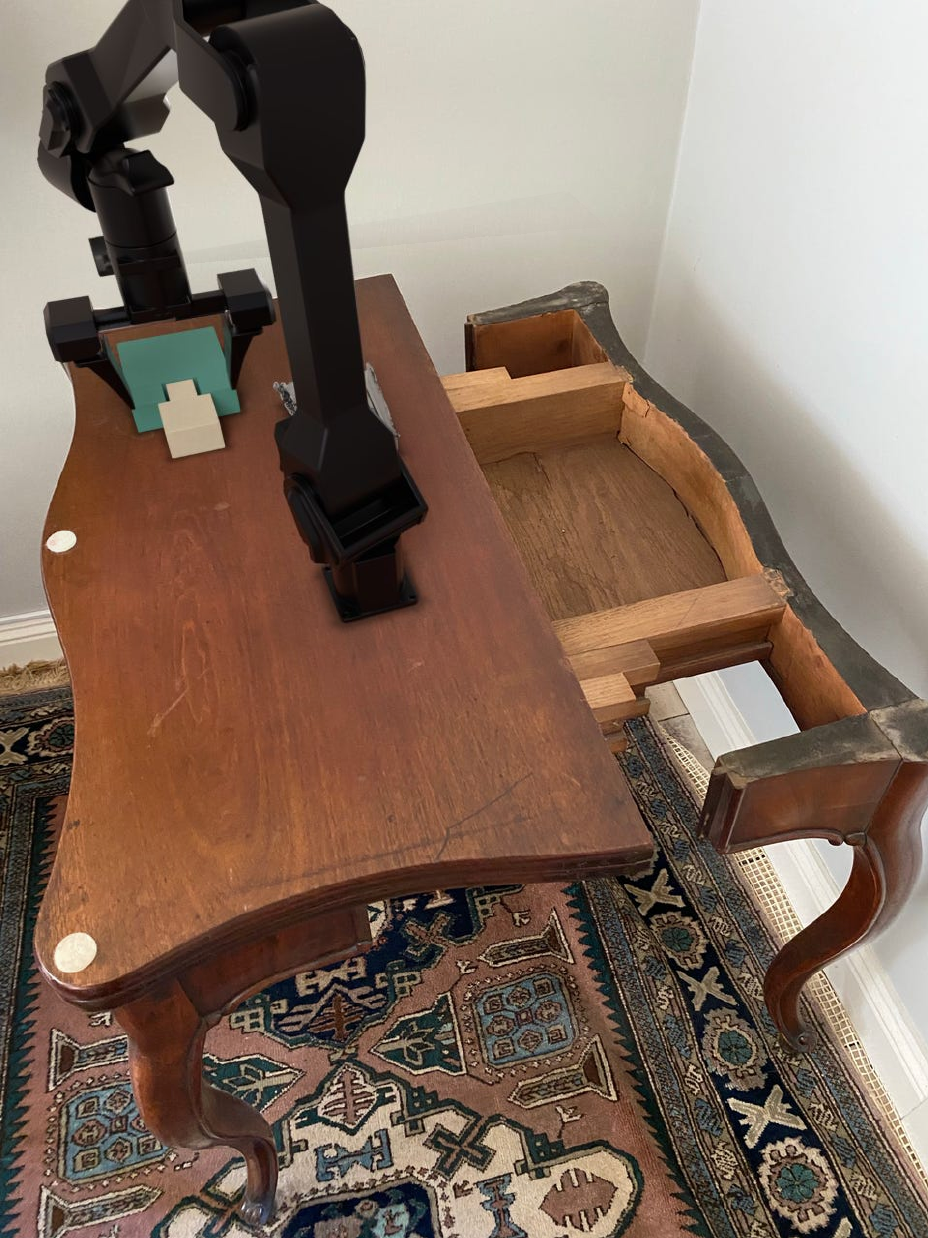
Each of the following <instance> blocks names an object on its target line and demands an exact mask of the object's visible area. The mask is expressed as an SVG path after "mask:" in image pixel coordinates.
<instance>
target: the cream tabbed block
mask: <svg viewBox="0 0 928 1238" xmlns="http://www.w3.org/2000/svg"><path fill="white" fill-rule="evenodd" d="M166 387H167V391H168V394H169V398H170V401H169V402H164V403H159V404H158V407H159V411H160V415H161V418H162V422H163V426H164V428H163V430H164V433H165V437H166V440H167V444H168V447H169V451H170V454H171V458H172V459H178V458H182V457H188V456H192V455H196V454H197V455H198V454H201V453H205V452H210V451H215V450H219V449H224V448H226V443H225V439H224V435H223V431H222V427H221V423H220V419H219V417H218V416H217V413H216V410H215V407H214V404H213V401H212V398H211V395H210V394H204V395H199V396H198V395H197V392H196V389H195V386H194V383H193V380H192V379H191V380H186V381H181V382H175V383H170V384H166Z"/></svg>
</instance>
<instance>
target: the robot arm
mask: <svg viewBox="0 0 928 1238" xmlns="http://www.w3.org/2000/svg"><path fill="white" fill-rule="evenodd" d="M366 66H367V65H366V60H365V55H364V51H363V48H362V46H361V44H360V41H359V39H358V38H357V35H356V34H355V33H354V32H353V30H352V29H351V28H350V27H349V26H348V25H347V24H346V23H345V22H343V20H342V19H341V17H339V16H338V14H336V12H335V11H334V10H333V9H332V8H330V7H329V6H327V5H325V4H324V3H321V2H320V1H318V0H126V2H125V4H124V5H123V6H122V7H121V9H120V11H119V12H118V13H117V14H116V16H115V17H114V19H113V20H112V21H111V23H110V24H109V26H108V27H107V28H106V30H105V32H104V33H103V34H102V36H101V37H100V38H99V40H98V41H97V43H96V44H95V45H94V46H91V47H90V48H87V49H84V50H81V51H78V52H76V53H72V54H69V55H66V56H63V57H61V58H59V59H57V60H55V61H54V62H51V63H49V64H48V65H47V67H46V70H45V74H44V82H45V84H44V86H43V87H42V110H41V120H40V125H39V131H38V137H39V141H38V147H37V157H36V161H37V165H38V168H39V170H40V172H41V174H42V176H43V178H45V179H46V181H47V182H48V183H49V184H50V185H51V186H52V187H54V189H55V188H56V190H58V191H60V192H61V193H62V194H64V195H65V196H67V197H68V198H70V200H72V201H74V202H75V203H77V204H78V205H80V206H81V207H82V208H84V209H85V210H87V211H90V212H92V213H95V214H96V215H97V219H98V222H99V225H100V229H101V233H102V235H98V236H97V235H96V236H92V237H87V240H88V243H89V244H88V245H89V247H90V251H91V255H92V258H93V261H94V265H95V269H96V271H97V275H98V276H99V277H100V278H103V277H104V278H105V277H111V276H114V277H115V281H116V284H117V289H118V291H119V295H120V297H121V300H122V304H123V305H120V306H113V307H108V308H101V309H96V310H94V306H93V304H92V300H91V298H90V295H81V296H75V297H70V298H63V299H57V300H52V301H47V302H46V304H45V306H44V308H43V309H42V315H43V321H44V330H45V335H46V338H47V342H48V345H49V349H50V350H51V353H52V356H53V358H54V361H55V362H58V363H60V364H65V363H71V362H72V363H73V365H74V367H75V368H76V369H84V368H86V369H89V370H90V371H91V372H92V373H94V374H95V375H96V376H97V377H99V378H100V379H101V380H102V381H103V382H104V383H106V384H107V385H108V386H109V387H110V388H111V389H112V390H113V391H114V393H115V394H116V395H117V396H118V397H119V398H120V399H121V400H122V401H123V402H124V404H126V406H127V407H128V408H129V409H130V410H131V411H132V410H135V409H136V407H135V403H134V400H133V396H132V393H131V390H130V387H129V385H128V383H127V381H126V379H125V376H124V374H123V371H122V367H121V365H120V364H119V361H118V359H117V357H116V355H115V353H114V351H113V348H112V346H111V343H110V341H109V339H108V338H109V337H108V336H107V334H114V333H118V332H125V331H130V330H136V329H142V328H146V327H153V326H159V325H163V324H169V323H175V322H181V321H186V320H192V319H198V318H203V317H208V316H214V315H220V320H221V327H222V335H223V347H224V357H225V360H226V370H227V375H228V379H229V384H230V387H231V390H236V391H237V387H238V383H239V379H240V376H241V371H242V367H243V364H244V361H245V358H246V356H247V353H248V351H249V348H250V346H251V344H252V341H253V339H254V338H255V337H258V336H262V335H263V333H264V327H267V326H273V325H274V324H275V323H276V322H277V320H278V319H277V313H276V306H275V301H274V298H273V294H272V292H271V290H270V288H269V286H268V284H267V282H266V279H265V278H264V275H263V274H262V272H260V271H259V270H258V269H257V268H255V267H250V268H246V269H244V268H243V269H239V270H233V271H227V272H221V273H216V281H217V286H218V289H214V290H209V291H203V292H197V293H192V288H191V283H190V280H189V276H188V272H187V267H186V263H185V258H184V254H183V250H182V249H183V248H182V244H181V241H180V236H179V232H178V228H177V224H176V219H175V215H174V210H173V207H172V206H173V205H172V202H171V198H170V193H169V190H168V187H170V186H174V185H175V182H176V181H175V178H174V176H173V174H172V173H171V171H170V169H169V168H168V167H167V166H166V165H164V164H162V163H161V162H160V161H159V160H158V159H157V158H156V157H155V156H154V154H153V153H152V151H151V150H150V149H144V150H140V149H137V148H133V147H126V146H125V143H127V142H131V141H135V140H138V139H142V138H146V137H149V136H152V135H153V136H154V135H156V134H157V135H158V134H160V132H161V131H162V129H163V127H164V125H165V123H166V121H167V120H168V117H169V115H170V113H171V110H172V105H171V102H170V101H169V98H168V96H167V94H168V92H169V91H170V90H171V89H172V88H174V86H176V84H177V83H178V88H179V89H180V91H181V92H182V94H183V95H185V97H186V98H188V99H189V100H190V101H191V102H192V103H193V105H195V106H196V107H197V108H198V109H199V110H200V111H201V112H202V113H203V114H204V115H206V117H208V119H210V120H211V121H212V123H213V124H214V127H215V131H216V135H217V138H218V141H219V145H220V148H221V150H222V152H223V154H224V155H225V156H226V157H227V159H228V160H230V162H231V163H232V165H233V166H234V167H235V168H236V169H237V170H238V171H239V173H240V174H241V175H242V176H243V178H245V180H246V181H247V182H248V184H249V185H250V186H251V187H252V188H253V189H254V191H255V192H256V194H258V199H259V204H260V208H261V214H262V219H263V224H264V226H263V227H264V231H265V236H266V241H267V248H268V254H269V258H270V264H271V269H272V275H273V281H274V286H275V292H276V297H277V303H278V308H279V313H280V319H281V325H282V330H283V337H284V341H285V347H286V352H287V353H286V354H287V359H288V364H289V370H290V375H291V381H292V382H293V387H294V392H295V398H296V406H297V408H296V411H295V413H294V414H293V415H291V414H290V415H289V416H287V417H285V418H283V419H281V420H279V421H277V422H276V423H275V425H274V431H273V438H274V441H275V445H276V447H277V452H278V455H279V470H280V472H281V473H283V478H284V479H283V482H282V485H283V486H282V487H283V489H282V490H283V494H284V497H285V501H286V503H287V505H288V508H289V510H290V513H291V517H292V519H293V521H294V524H295V527H296V530H297V532H298V535H299V537H300V538H301V540H302V542H303V543H304V544H305V545H306V546H307V547H308V553H309V558H310V560H311V561H312V562H313V563H314V564H317V565H318V564H322V565H323V566H322V567H321V574H322V576H323V579H324V581H325V584H326V587H327V589H328V591H329V595H330V597H331V600H332V602H333V605H334V607H335V611H336V612H337V615H338V617H339V620H340V622H341V623H343V624H348V623H353V622H357V621H360V620H364V619H367V618H371V617H375V616H378V615H383V614H385V613H390V612H393V611H397V610H400V609H405V608H408V607H413V606H415V605H417V604H418V602H419V595H418V594H417V591H416V589H415V586H414V585H413V583H412V580H411V578H410V576H409V574H408V572H407V570H406V568H405V565H404V559H403V543H402V542H403V541H402V540H403V539H402V534H404V533H405V532H406V531H408V530H410V529H412V528H414V527H415V526H420V525H421V524H423V523H425V521H426V518H427V516H428V512H429V510H430V508H429V504H428V503H427V502H426V499H425V498H424V497H423V496H424V495H423V494H422V492H421V490H420V488H419V486H418V485H417V483H416V481H415V479H414V478H413V476H412V474H411V472H410V470H409V468H408V467H407V465H406V463H405V461H404V459H403V458H402V456H401V454H400V453H399V450H398V449H397V448H396V443H395V438H394V433H393V431H392V430H391V428H390V427H389V426H388V425H387V424H386V423H385V422H384V421H383V420H382V419H381V418H380V417H379V416H378V415H377V413H376V412H375V411H374V410H373V409H372V408H371V407H370V405H369V402H368V396H367V387H366V378H365V371H366V370H365V361H364V353H363V344H362V335H361V327H360V318H359V309H358V308H359V307H358V300H357V290H356V282H355V272H354V266H353V255H352V246H351V239H350V230H349V229H350V228H349V221H348V213H347V212H348V211H347V204H346V202H347V201H346V189H347V186H348V184H349V182H350V179H351V177H352V174H353V171H354V169H355V167H356V164H357V162H358V159H359V157H360V153H361V151H362V149H363V146H364V144H365V141H366V134H367V72H366V71H367V70H366V69H367V68H366ZM324 564H325V565H324Z"/></svg>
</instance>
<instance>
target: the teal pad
mask: <svg viewBox="0 0 928 1238" xmlns="http://www.w3.org/2000/svg"><path fill="white" fill-rule="evenodd" d="M116 348H117V353H118V354H117V355H118V357H119V363H120V368H121V370H122V372H123V374H124V376H125V379H126V381H127V383H128V385H129V387H130V390H131V393H132V396H133V400H134V403H135V407H136V409H135V410H131V413H132V415H133V419H134V422H135V425H136V428H137V432H138V434H139V433H140V434H141V433H144V432H145V433H146V432H149V431H154V430H159V429H164V426H163V422H162V418H161V415H160V411H159V407H158V404H159V403H164V402H169V401H170V398H169V394H168V391H167V387H166V384H170V383H175V382H181V381H186V380H191V379H192V380H193V383H194V386H195V389H196V392H197V395H198V396H199V395H204V394H210V395H211V398H212V401H213V404H214V407H215V410H216V413H217V416H218V418H219V417H224V416H227V415H233V414H237V413H241V406H240V402H239V396H238V392H237V389H236V390H231V387H230V384H229V379H228V375H227V370H226V360H225V353H224V352H223V349H222V346H221V344H220V341H219V339H218V336H217V333H216V330H215V327H214V326H213V325H211V326H206V327H201V328H195V329H188V330H184V331H179V332H172V333H167V334H161V335H156V336H151V337H145V338H139V339H132V340H128V341H123V342H117V343H116Z"/></svg>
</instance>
